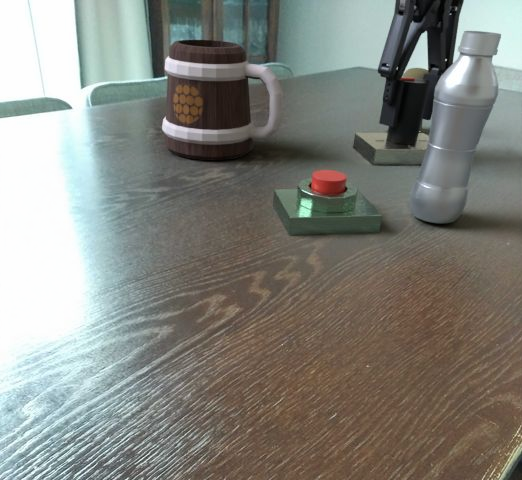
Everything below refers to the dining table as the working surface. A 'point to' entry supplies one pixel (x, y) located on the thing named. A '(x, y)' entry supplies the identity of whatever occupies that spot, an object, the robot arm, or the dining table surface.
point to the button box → (325, 211)
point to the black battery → (409, 111)
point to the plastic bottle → (456, 129)
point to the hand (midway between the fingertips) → (405, 121)
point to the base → (390, 149)
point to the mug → (214, 100)
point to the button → (328, 182)
